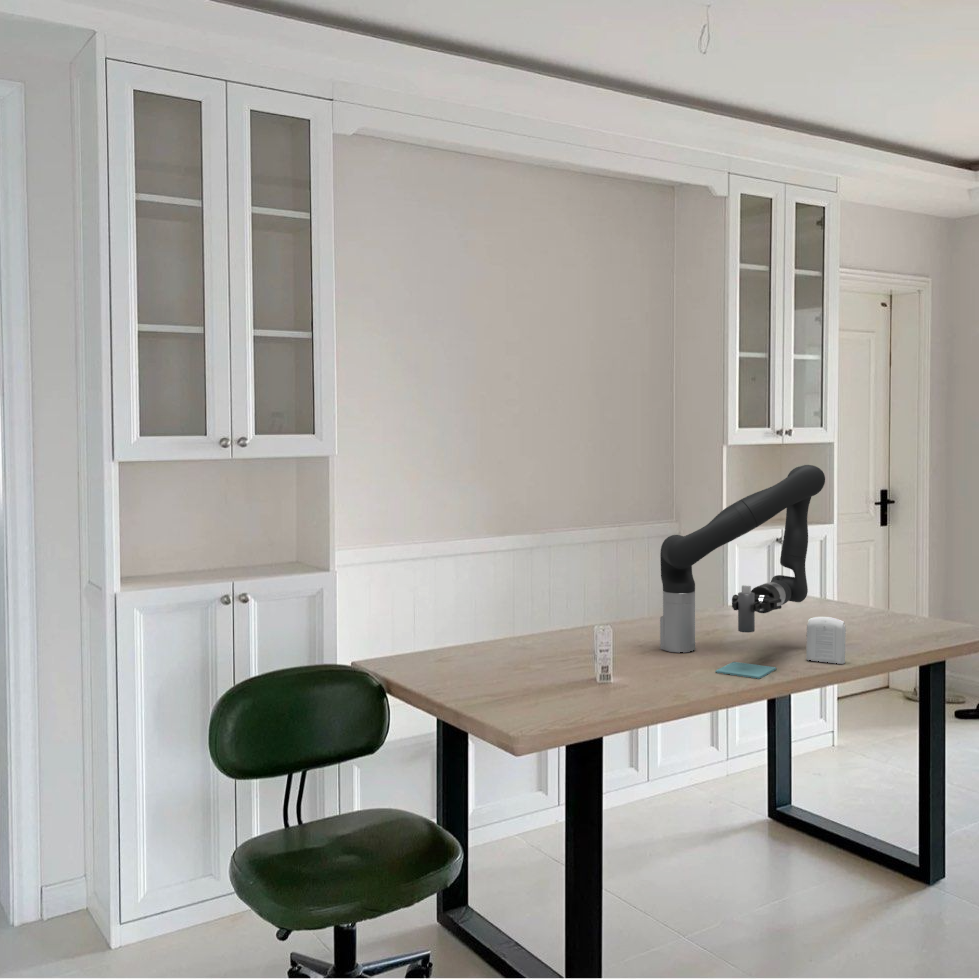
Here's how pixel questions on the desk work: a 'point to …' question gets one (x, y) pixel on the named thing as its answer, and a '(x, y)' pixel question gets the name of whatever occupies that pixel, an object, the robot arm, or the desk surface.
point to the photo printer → (826, 640)
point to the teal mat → (746, 670)
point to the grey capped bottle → (746, 610)
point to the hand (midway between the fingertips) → (743, 607)
